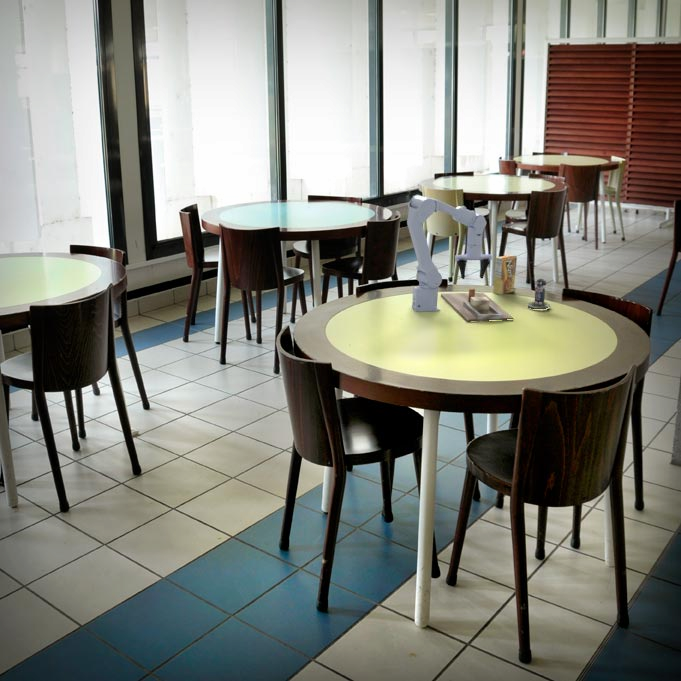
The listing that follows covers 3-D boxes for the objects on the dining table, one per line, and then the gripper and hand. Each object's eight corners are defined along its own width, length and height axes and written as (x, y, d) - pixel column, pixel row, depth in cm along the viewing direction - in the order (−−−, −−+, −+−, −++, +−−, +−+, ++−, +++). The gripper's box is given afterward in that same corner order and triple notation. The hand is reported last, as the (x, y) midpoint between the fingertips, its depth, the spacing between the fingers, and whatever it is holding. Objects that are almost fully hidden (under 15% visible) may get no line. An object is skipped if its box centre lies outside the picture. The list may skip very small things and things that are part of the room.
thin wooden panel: (467, 322, 313) (467, 315, 312) (440, 296, 347) (441, 290, 346) (513, 320, 316) (513, 314, 315) (482, 294, 349) (483, 289, 349)
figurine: (526, 304, 337) (529, 275, 333) (548, 305, 336) (551, 276, 332) (528, 310, 329) (531, 280, 325) (551, 311, 328) (554, 281, 324)
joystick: (473, 310, 323) (474, 298, 322) (463, 300, 337) (463, 288, 335) (489, 310, 324) (489, 297, 323) (477, 300, 338) (478, 288, 336)
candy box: (506, 289, 358) (509, 254, 353) (514, 291, 355) (517, 256, 350) (492, 292, 353) (495, 257, 348) (500, 295, 350) (503, 258, 345)
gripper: (488, 241, 334) (486, 275, 339) (453, 242, 332) (451, 276, 336) (494, 245, 328) (492, 279, 332) (458, 246, 325) (456, 280, 330)
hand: (472, 278), depth 334 cm, fingers open, 7 cm apart
